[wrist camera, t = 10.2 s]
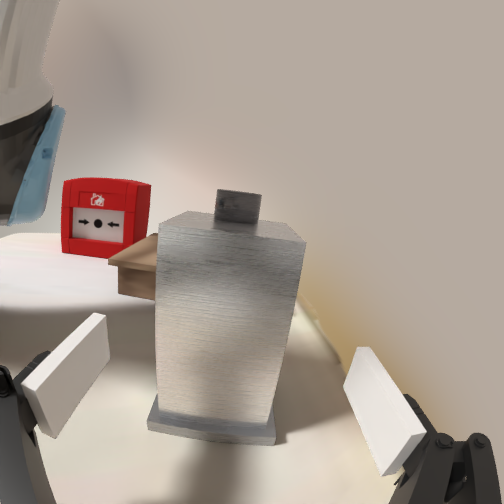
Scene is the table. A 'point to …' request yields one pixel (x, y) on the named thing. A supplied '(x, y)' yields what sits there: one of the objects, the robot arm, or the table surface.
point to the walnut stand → (137, 268)
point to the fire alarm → (103, 215)
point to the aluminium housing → (222, 320)
